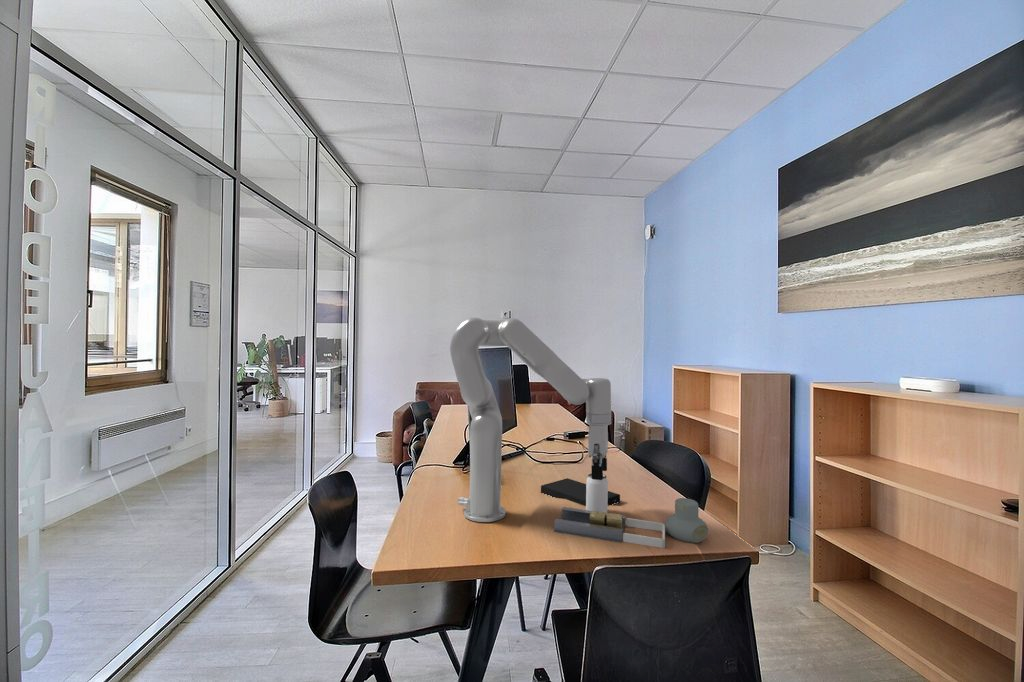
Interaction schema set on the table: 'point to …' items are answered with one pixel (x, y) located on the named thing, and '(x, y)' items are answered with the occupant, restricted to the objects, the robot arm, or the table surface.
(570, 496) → the external hard drive
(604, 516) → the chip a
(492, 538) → the table surface
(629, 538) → the tray
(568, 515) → the slot rail
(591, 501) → the can
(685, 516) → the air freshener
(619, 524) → the chip
